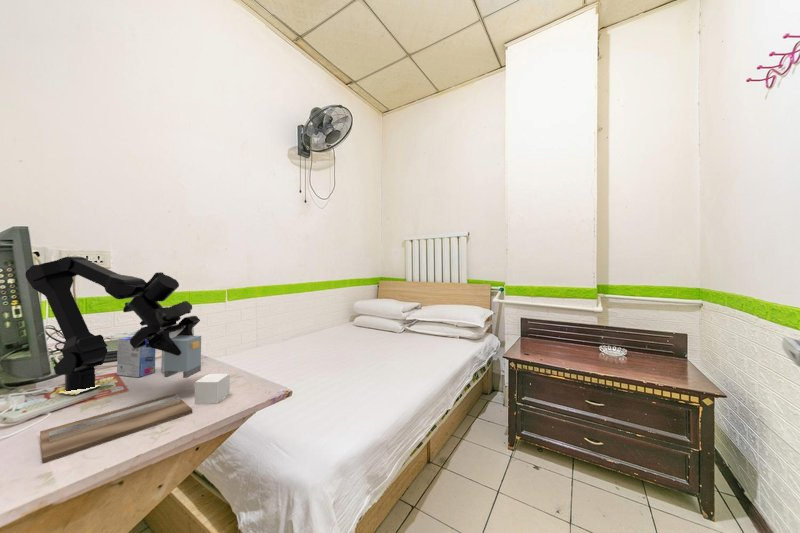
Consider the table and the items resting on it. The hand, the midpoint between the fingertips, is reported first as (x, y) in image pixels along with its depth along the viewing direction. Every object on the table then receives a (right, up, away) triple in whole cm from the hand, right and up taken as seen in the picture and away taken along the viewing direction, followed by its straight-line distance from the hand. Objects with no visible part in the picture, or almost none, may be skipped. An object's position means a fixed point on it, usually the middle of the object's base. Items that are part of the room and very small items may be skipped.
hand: (187, 351), depth 84 cm
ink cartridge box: (-28, -12, +15) cm, 34 cm away
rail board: (-4, -12, -16) cm, 20 cm away
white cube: (+9, -13, -3) cm, 16 cm away
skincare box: (-17, -12, +19) cm, 28 cm away
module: (-1, -7, 0) cm, 7 cm away
